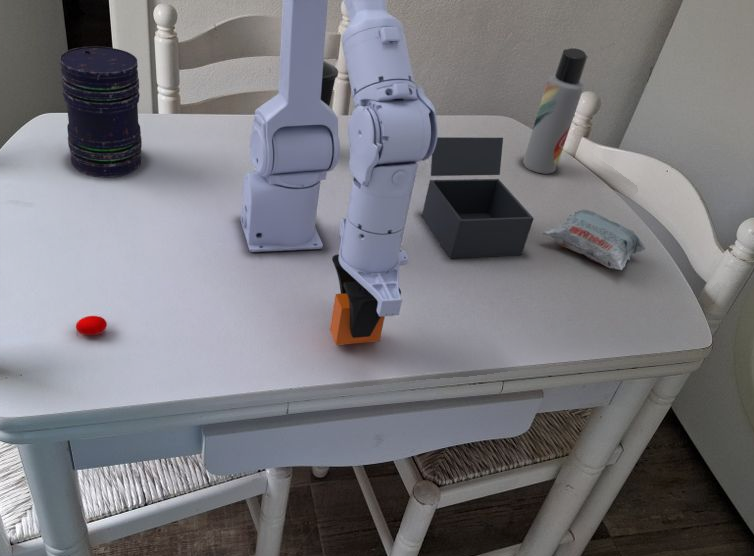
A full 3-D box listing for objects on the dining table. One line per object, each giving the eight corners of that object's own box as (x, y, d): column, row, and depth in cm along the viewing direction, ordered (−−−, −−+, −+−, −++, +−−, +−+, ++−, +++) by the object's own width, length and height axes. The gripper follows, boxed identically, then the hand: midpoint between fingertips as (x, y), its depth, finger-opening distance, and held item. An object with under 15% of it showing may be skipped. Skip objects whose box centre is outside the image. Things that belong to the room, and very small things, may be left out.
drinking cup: (326, 165, 111) (343, 36, 99) (278, 158, 110) (288, 29, 99) (328, 144, 117) (344, 21, 105) (282, 138, 116) (293, 13, 105)
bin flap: (431, 176, 98) (430, 175, 98) (499, 175, 101) (498, 174, 102) (433, 137, 96) (432, 137, 97) (503, 137, 100) (502, 137, 100)
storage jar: (156, 166, 103) (153, 65, 94) (95, 184, 96) (86, 78, 88) (116, 140, 108) (110, 42, 99) (56, 156, 101) (43, 52, 92)
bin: (421, 216, 102) (429, 179, 98) (488, 213, 105) (498, 178, 102) (450, 258, 94) (460, 220, 90) (521, 254, 97) (533, 218, 94)
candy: (107, 326, 74) (106, 312, 73) (106, 339, 72) (105, 324, 71) (77, 327, 73) (75, 313, 72) (75, 340, 72) (73, 326, 70)
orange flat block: (335, 345, 75) (341, 308, 73) (329, 330, 77) (335, 293, 74) (379, 341, 77) (387, 305, 74) (372, 326, 79) (380, 290, 76)
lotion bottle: (559, 167, 122) (598, 52, 111) (548, 178, 118) (588, 60, 107) (529, 155, 124) (564, 42, 113) (517, 166, 120) (552, 49, 109)
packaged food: (616, 283, 94) (629, 253, 92) (538, 244, 100) (549, 214, 97) (640, 261, 100) (653, 232, 97) (565, 225, 106) (576, 196, 103)
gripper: (441, 259, 64) (413, 368, 72) (391, 181, 75) (371, 283, 83) (368, 263, 62) (347, 375, 70) (327, 182, 73) (313, 287, 81)
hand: (356, 325), depth 76 cm, fingers closed on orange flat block, 2 cm apart
